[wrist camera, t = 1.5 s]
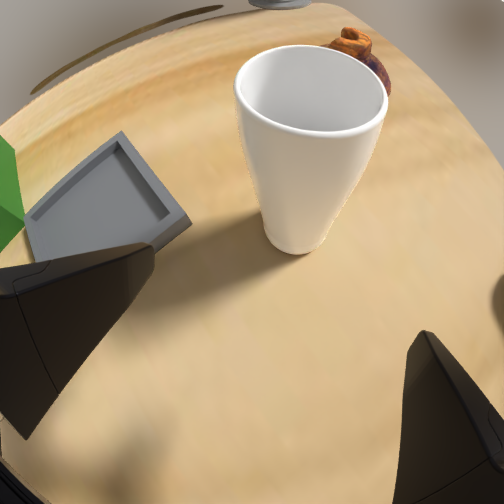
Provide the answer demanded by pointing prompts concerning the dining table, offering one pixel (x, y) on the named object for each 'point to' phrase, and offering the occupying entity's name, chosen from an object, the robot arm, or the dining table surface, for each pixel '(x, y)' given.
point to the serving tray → (104, 206)
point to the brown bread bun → (360, 52)
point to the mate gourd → (280, 4)
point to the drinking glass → (306, 137)
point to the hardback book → (9, 196)
